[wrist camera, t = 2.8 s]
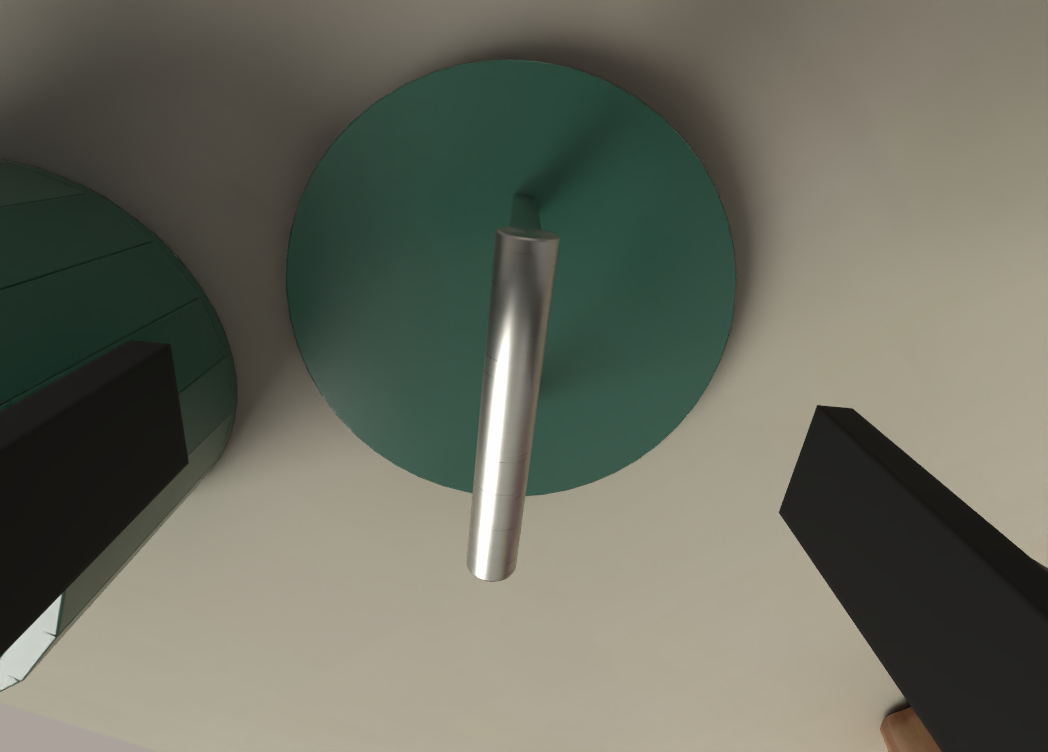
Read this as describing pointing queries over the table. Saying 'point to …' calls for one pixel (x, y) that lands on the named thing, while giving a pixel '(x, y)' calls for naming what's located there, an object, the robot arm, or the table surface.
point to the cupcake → (907, 733)
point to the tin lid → (510, 284)
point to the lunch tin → (101, 348)
